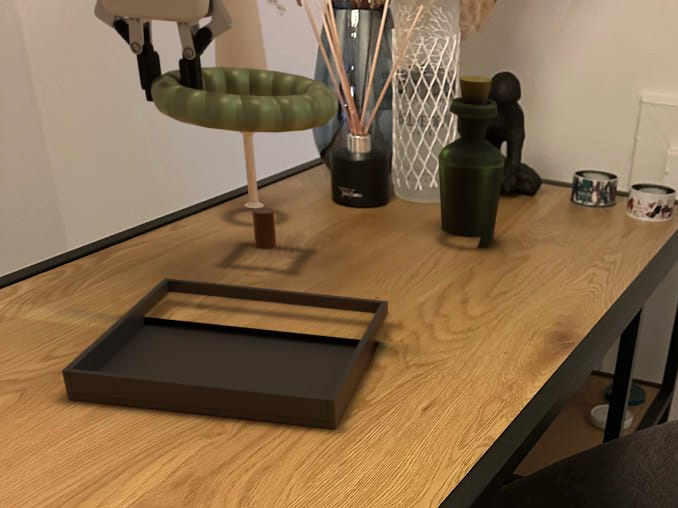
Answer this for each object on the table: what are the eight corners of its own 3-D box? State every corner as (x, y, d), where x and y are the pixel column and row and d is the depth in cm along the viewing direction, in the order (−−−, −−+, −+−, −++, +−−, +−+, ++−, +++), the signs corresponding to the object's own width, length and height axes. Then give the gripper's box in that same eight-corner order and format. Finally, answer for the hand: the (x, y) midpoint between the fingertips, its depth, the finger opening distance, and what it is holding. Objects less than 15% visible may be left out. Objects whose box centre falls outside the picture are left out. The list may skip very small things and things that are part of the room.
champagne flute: (286, 211, 124) (272, -7, 109) (273, 226, 119) (256, -1, 104) (237, 207, 124) (215, -12, 109) (221, 222, 119) (196, -6, 104)
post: (222, 266, 107) (216, 217, 104) (244, 244, 113) (239, 197, 110) (291, 273, 107) (287, 224, 103) (309, 251, 113) (306, 204, 109)
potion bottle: (503, 235, 122) (515, 76, 111) (493, 254, 116) (504, 88, 104) (442, 227, 123) (448, 69, 111) (429, 246, 117) (433, 81, 105)
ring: (126, 122, 88) (121, 85, 86) (186, 90, 102) (183, 58, 100) (317, 143, 88) (316, 107, 86) (350, 108, 102) (350, 77, 100)
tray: (68, 399, 80) (61, 370, 78) (168, 302, 97) (164, 277, 96) (335, 429, 79) (334, 400, 77) (388, 326, 96) (388, 300, 95)
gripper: (34, -143, 80) (78, 100, 92) (222, -127, 80) (242, 116, 91) (72, -142, 86) (109, 87, 98) (248, -126, 85) (264, 102, 97)
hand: (173, 99), depth 94 cm, fingers closed on ring, 3 cm apart
